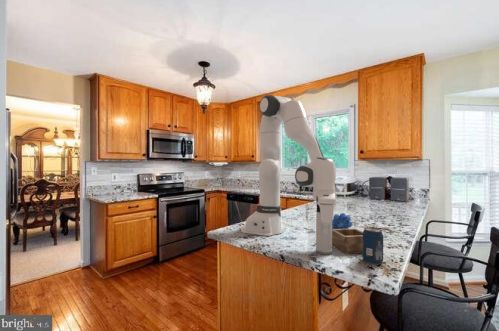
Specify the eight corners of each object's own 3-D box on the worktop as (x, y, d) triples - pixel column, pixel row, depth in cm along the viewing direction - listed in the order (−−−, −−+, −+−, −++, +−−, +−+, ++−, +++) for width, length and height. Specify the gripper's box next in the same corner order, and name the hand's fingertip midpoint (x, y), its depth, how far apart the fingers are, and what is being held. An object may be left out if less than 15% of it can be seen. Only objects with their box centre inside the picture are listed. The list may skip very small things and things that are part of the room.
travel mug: (312, 251, 97) (312, 203, 97) (323, 248, 100) (323, 202, 101) (323, 256, 92) (324, 205, 92) (335, 253, 95) (335, 204, 95)
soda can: (366, 256, 92) (366, 226, 92) (385, 261, 87) (386, 229, 87) (359, 261, 88) (359, 229, 88) (379, 267, 83) (379, 233, 83)
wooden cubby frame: (344, 253, 95) (344, 236, 95) (330, 244, 106) (330, 229, 106) (371, 252, 97) (371, 235, 97) (355, 243, 108) (355, 228, 108)
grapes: (349, 234, 122) (349, 211, 122) (353, 238, 115) (353, 214, 116) (326, 233, 124) (326, 210, 124) (329, 237, 117) (329, 213, 117)
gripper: (314, 193, 107) (313, 223, 107) (318, 199, 87) (318, 236, 87) (328, 193, 106) (328, 224, 106) (336, 200, 86) (336, 238, 86)
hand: (323, 230), depth 96 cm, fingers open, 7 cm apart
